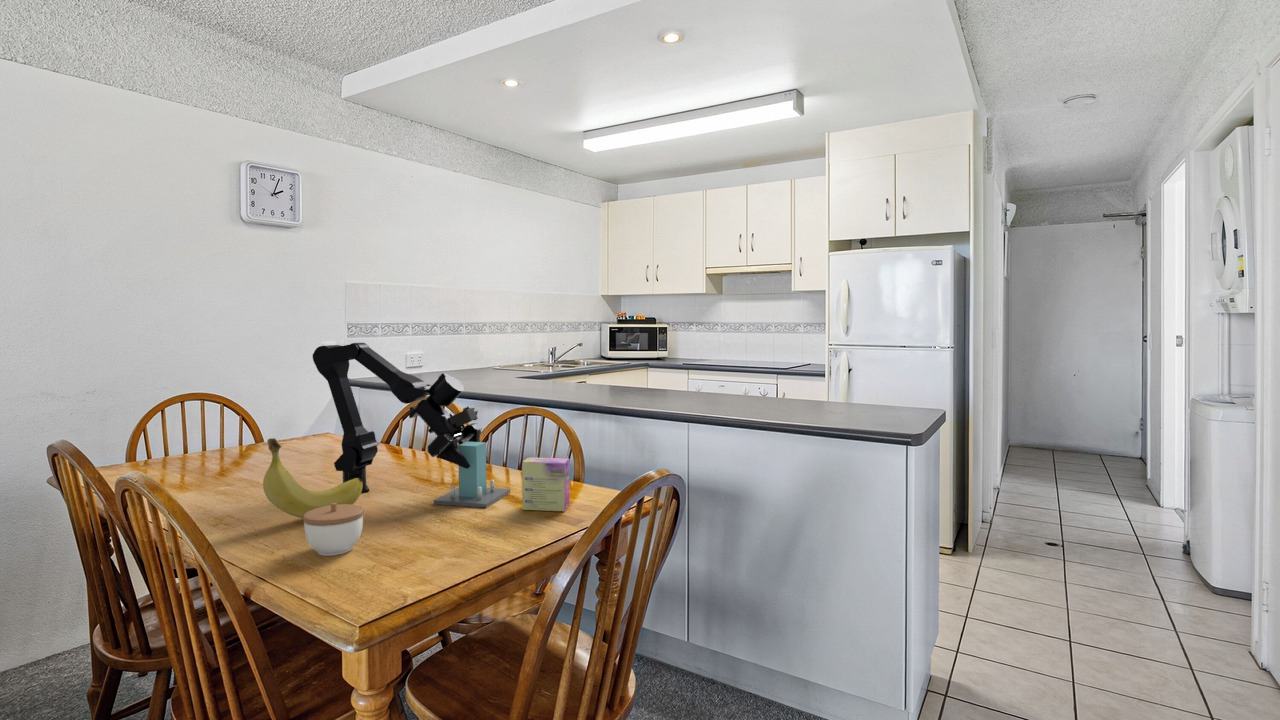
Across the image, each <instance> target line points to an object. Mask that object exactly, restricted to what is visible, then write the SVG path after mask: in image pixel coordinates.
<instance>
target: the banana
mask: <svg viewBox="0 0 1280 720" xmlns="http://www.w3.org/2000/svg"><path fill="white" fill-rule="evenodd" d="M267 445H268V450H269V451H270V453H271V455H272V456H271V457H272V458H271V463H270V464H269V467H268V469H267V470H266V472H265V474H264V477H263V482H262V487H263V492H264V494H265V496H266V498H267V500H268V501H269V502H270V504H272V505H273V506H274V507H275V508H277V509H279V510H281V511H282V512H283V513H286V514H287V515H290V516H292V517H294V518H299V519H303V516H304V514H305V513H306V512H308V511H310V510H313V509H316V508H320V507H324V506H330V505H331V504H332V503H337V505H340V504H351V505H355V503H357V501H358V499H359V498H360V496H361V493H363V492H362V487H363V482H362V480H361V479H360V478H354V479H352V480H349V481H347V482H344V483H343V482H342V483H340V484H338V485H337V486H334V487H332V488H330V489H329V488H328V489H325V490H321V491H320V490H319V491H313V490H312V491H311V490H309V489H307V488H305V487H303V486H302V485H301V484H299V482H298V481H297V480H296V479H295V477H293V475H292V474H291V473H290V471H289V470H288V469H287V468H286V466H284V465H283V463H282V461H281V458H280V449H281V448H282V445H281V444H279V443H278V441H277V439H276V438H275V437H274V438H273V437H272V438H268V439H267Z"/></svg>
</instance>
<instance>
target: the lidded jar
mask: <svg viewBox="0 0 1280 720" xmlns="http://www.w3.org/2000/svg"><path fill="white" fill-rule="evenodd" d="M364 511H365V510H364V508H363V507H362V506H361V505H358V504H357V505H356V504H353V505H351V504H340V505H337V503H332V504H331V505H330V506H324V507H320V508H316V509H313V510H310V511H308V512H306V513H305V514H304V516H303V518H302V519H303V526H304V527H303V528H304V535H305V538H306V541H307V544H309V546H310V547H311V548H312V549H313V551H316V552H317V554H318V555H319V556H322V557H323V556H325V557H326V556H327V557H332V556H339V554H340V555H343V554H347V553H348V552H350V551H352V549H353V547H354V546H355V545H356V544H357V542H358V541H359V540H360V538H361V537H362V536H361V535H362V531H363V526H364Z"/></svg>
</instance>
